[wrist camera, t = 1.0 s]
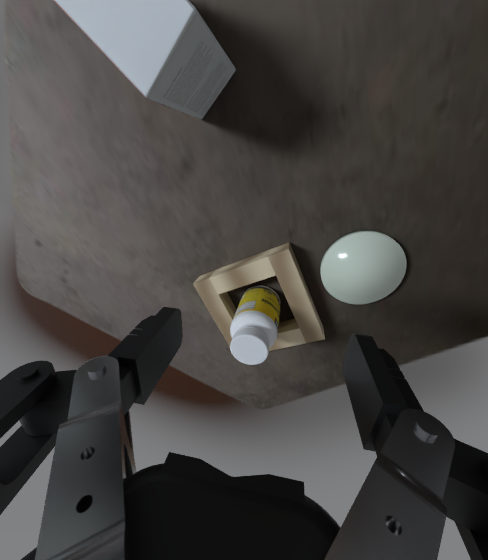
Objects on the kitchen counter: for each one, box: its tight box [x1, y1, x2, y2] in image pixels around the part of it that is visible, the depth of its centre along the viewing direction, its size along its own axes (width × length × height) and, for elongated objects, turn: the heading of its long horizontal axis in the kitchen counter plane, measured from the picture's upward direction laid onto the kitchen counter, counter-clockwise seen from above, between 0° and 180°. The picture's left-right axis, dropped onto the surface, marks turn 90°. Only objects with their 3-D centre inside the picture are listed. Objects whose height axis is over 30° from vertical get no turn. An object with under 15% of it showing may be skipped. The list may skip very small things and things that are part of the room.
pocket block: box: [193, 242, 325, 351], centre depth 32 cm, size 13×13×2 cm
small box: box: [54, 0, 236, 120], centre depth 18 cm, size 8×6×10 cm
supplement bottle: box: [230, 285, 281, 365], centre depth 29 cm, size 5×5×10 cm
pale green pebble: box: [320, 230, 407, 304], centre depth 28 cm, size 9×9×1 cm
